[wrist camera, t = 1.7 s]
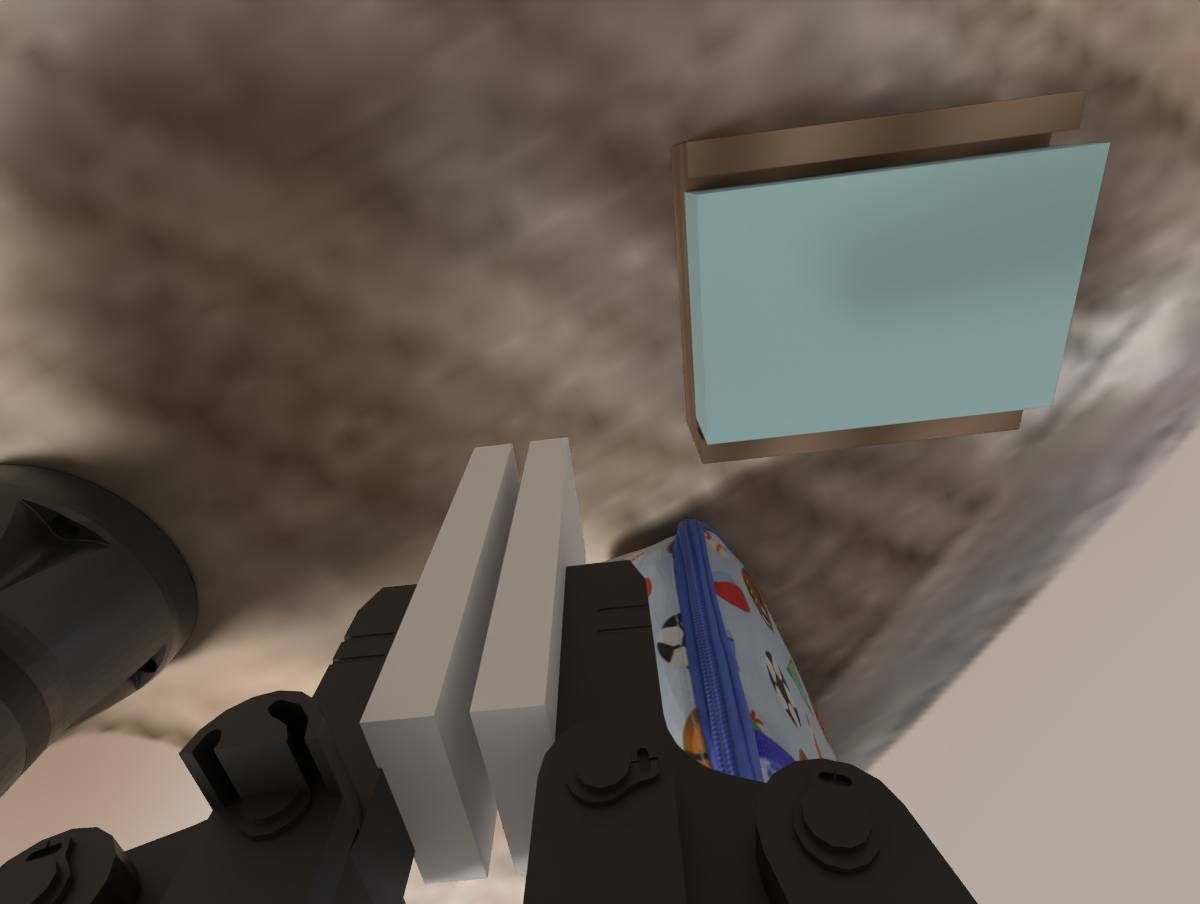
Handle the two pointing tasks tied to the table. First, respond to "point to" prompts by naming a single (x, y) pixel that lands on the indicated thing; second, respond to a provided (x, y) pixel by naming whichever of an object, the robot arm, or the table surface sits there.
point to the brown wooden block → (839, 153)
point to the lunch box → (724, 660)
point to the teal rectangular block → (887, 291)
